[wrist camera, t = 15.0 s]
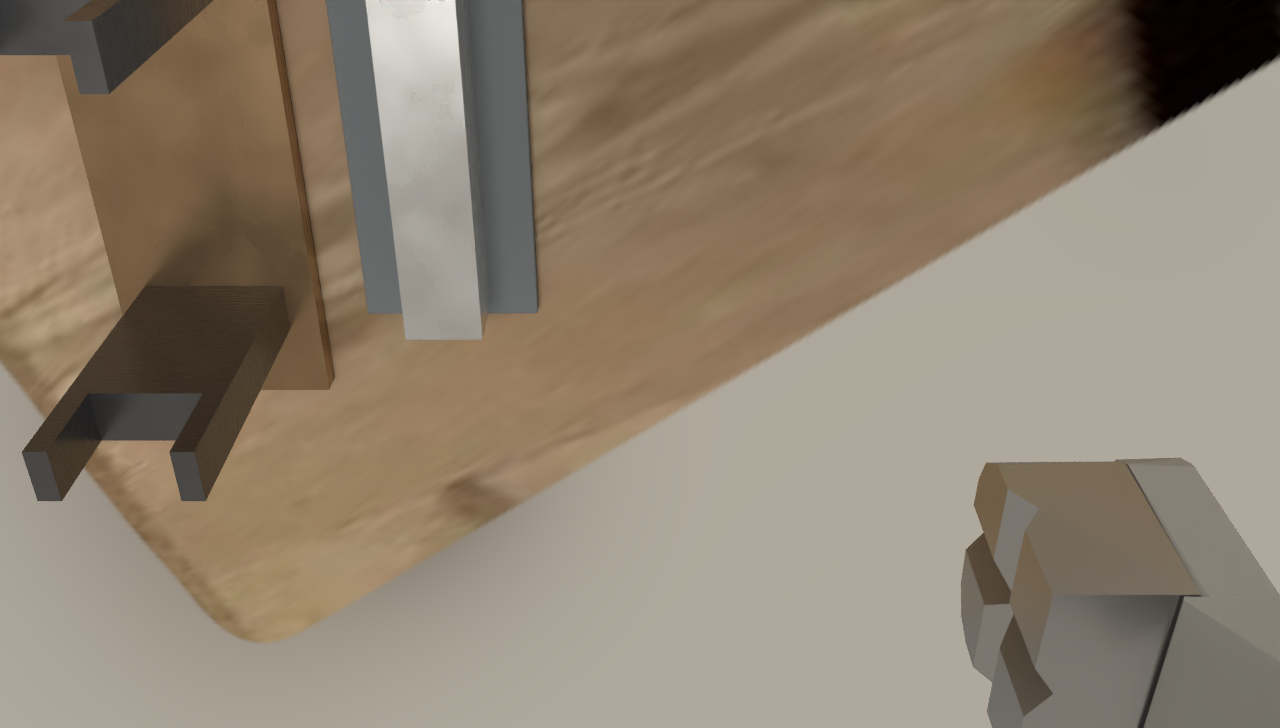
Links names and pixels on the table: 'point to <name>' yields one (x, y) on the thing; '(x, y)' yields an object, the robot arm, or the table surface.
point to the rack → (181, 226)
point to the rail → (432, 164)
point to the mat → (499, 148)
